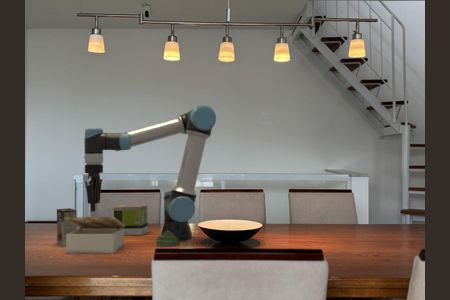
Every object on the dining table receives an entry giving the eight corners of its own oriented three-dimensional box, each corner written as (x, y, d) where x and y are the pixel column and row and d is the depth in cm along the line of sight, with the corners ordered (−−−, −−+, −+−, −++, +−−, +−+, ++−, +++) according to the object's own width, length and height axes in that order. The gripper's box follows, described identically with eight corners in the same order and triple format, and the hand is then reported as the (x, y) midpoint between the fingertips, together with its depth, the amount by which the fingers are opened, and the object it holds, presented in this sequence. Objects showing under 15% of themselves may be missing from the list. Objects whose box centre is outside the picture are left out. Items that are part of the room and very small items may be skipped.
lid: (124, 229, 173) (125, 225, 174) (113, 221, 159) (114, 216, 160) (79, 230, 174) (80, 225, 175) (64, 221, 160) (65, 217, 161)
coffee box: (56, 243, 179) (56, 209, 179) (70, 241, 183) (70, 207, 183) (62, 247, 172) (62, 211, 172) (77, 244, 176) (76, 209, 176)
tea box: (148, 231, 204) (147, 204, 205) (142, 235, 194) (141, 206, 195) (120, 231, 206) (120, 204, 206) (113, 235, 196) (113, 206, 196)
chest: (123, 245, 173) (123, 227, 173) (113, 253, 159) (112, 234, 159) (80, 245, 174) (80, 228, 174) (66, 253, 160) (66, 234, 160)
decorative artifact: (155, 243, 178) (157, 248, 168) (155, 228, 178) (157, 232, 168) (176, 241, 180) (180, 246, 171) (176, 226, 181) (180, 230, 171)
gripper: (91, 163, 172) (91, 216, 172) (78, 164, 159) (78, 221, 159) (107, 163, 172) (108, 216, 171) (96, 164, 159) (96, 221, 158)
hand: (94, 218), depth 165 cm, fingers closed
